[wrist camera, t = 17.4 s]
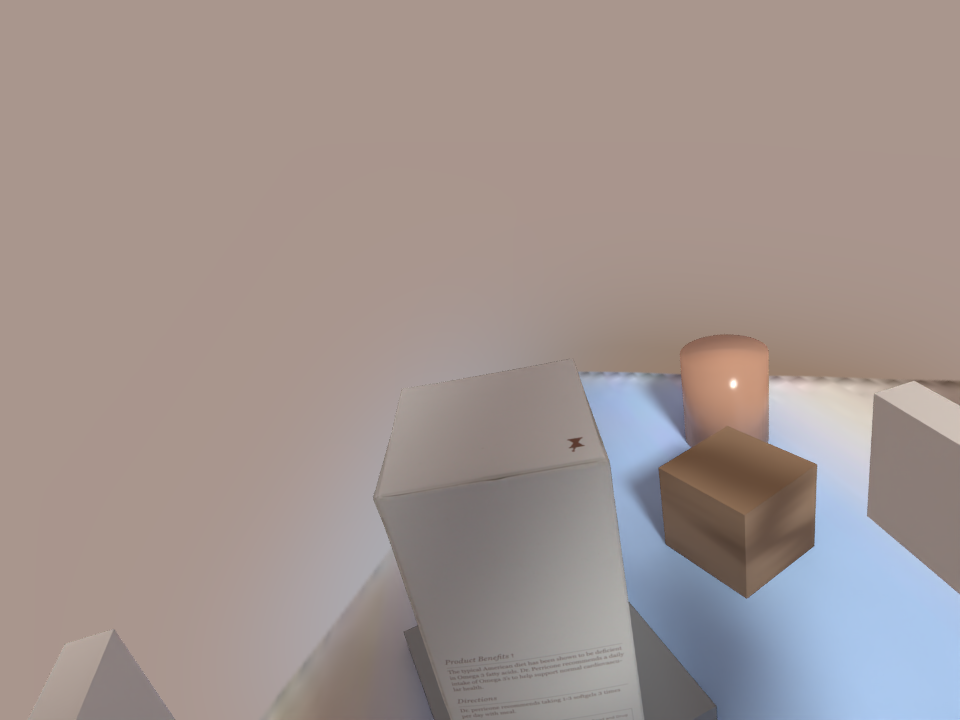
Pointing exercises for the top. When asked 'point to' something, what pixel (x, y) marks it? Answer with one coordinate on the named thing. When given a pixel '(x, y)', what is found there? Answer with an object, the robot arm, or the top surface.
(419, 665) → the slate tile
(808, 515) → the walnut block
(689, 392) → the peach rounded cylinder
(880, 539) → the top surface
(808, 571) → the top surface
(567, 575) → the supplement box
